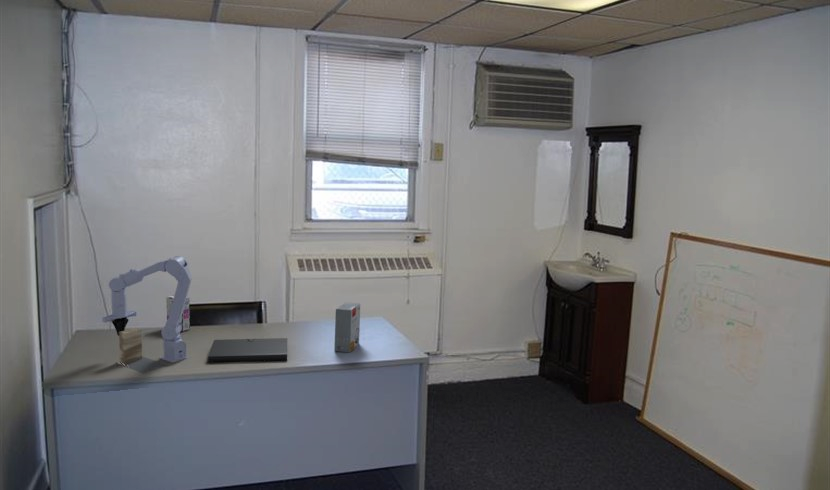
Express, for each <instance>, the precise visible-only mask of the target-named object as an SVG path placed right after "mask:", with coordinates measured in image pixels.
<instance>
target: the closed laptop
mask: <svg viewBox="0 0 830 490" xmlns="http://www.w3.org/2000/svg"><path fill="white" fill-rule="evenodd" d="M259 361H260V362H285V361H288V337H281V338H280V337H278V338H274V337H273V338H271V337H270V338H233V339H232V338H231V339H228V338H227V339H214V340H213V341H212V345H211V347H210V350H209V353H208V355H207V363H208V364H217V363H218V364H219V363H255V362H256V363H257V362H259Z"/></svg>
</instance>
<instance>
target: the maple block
mask: <svg viewBox="0 0 830 490" xmlns="http://www.w3.org/2000/svg"><path fill="white" fill-rule="evenodd" d="M118 338H119V339H118V340H119V342H118V343H119V361H120V362H122V363H125V364H126V363H129V362H133V361H136V360H140V359H142V356H143V345H142V343H143V341H142V328H139V327H138V328H137V327H134V328H131V329H125V330H124V331H121V332H119V336H118Z"/></svg>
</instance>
